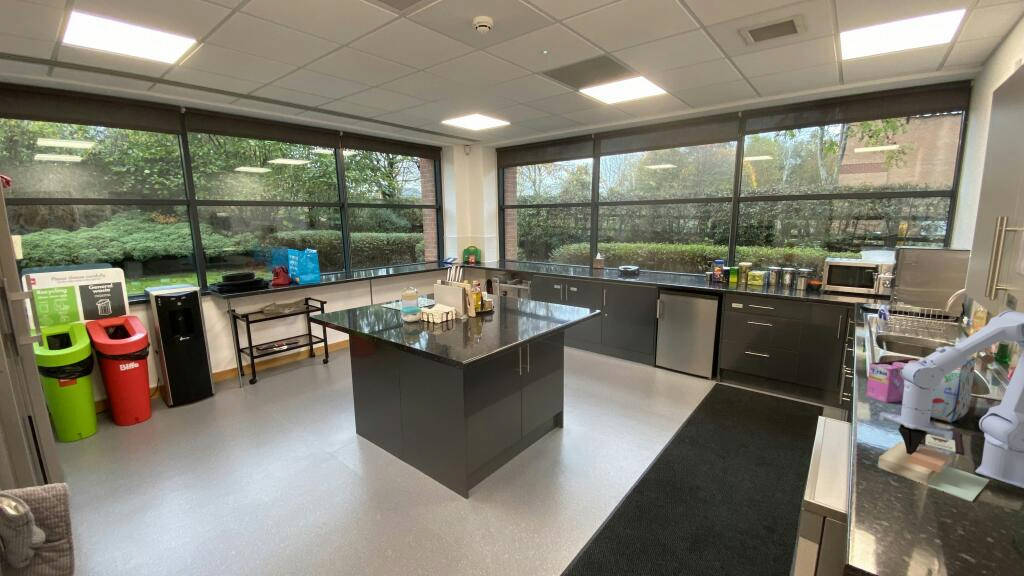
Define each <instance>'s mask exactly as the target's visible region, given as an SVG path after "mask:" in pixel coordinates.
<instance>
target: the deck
mask: <svg viewBox="0 0 1024 576" xmlns="http://www.w3.org/2000/svg"><path fill="white" fill-rule="evenodd" d="M919 448H920V447H919V446H918V448H917V450H918V449H919ZM917 450H916V451H917ZM877 468H879V469H882V470H885V471H887V472H890V473H892V474H896V475H898V476H901V477H903V478H906V479H908V480H911V481H914V482H917V483H919V482H920V483H919V484H922V483H923V484H922V485H925V486H927V484H928V483H929V482H930V481H931V480H932V479H933V478H934V477H935V476H936V475H937V474H938V473H939V472H936V471H933V470H930V469H927V468H924V467H921V466H919V465H916V464H913V463H910V454H907V452H906V446H905V443H904V441H899V442H898V443H897V444H895V445H894V446H892V447H891V448H890V449H888V450H887V451H885V452H884V453H883V454H881V455H880V456H878V462H877Z"/></svg>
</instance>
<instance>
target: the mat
mask: <svg viewBox="0 0 1024 576" xmlns="http://www.w3.org/2000/svg"><path fill="white" fill-rule="evenodd" d="M989 482H990V479H987V478H984V477H982V476H979V475H976V474H973V473H970V472H967V471H965V470H961V469H957V468H955V467H951V466H949V465H948V466H947V467H946V468H945V469H944V470H943V471H942V472H941V473H938V474H937V475H936V476H935V477H934V478H933V479H932V480H931V481H930V482H929V483H928V484H927V485H928V487H930V488H933V489H935V488H936V490H938V491H941V492H943V491H944V493H947V494H949V495H952V496H954V497H957V498H960V499H962V500H965V501H968V502H970V501H971V503H972V502H973V501H974V500H975V499H976V497H977V496H978V495H979V494H980V493H981V492H982V491H983V489H984V488H985V487H986V486H987V485H988V483H989ZM927 485H926V486H927Z"/></svg>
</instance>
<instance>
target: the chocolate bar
mask: <svg viewBox="0 0 1024 576" xmlns="http://www.w3.org/2000/svg"><path fill="white" fill-rule="evenodd" d="M942 428H943V429H946V430H949V431H953V435H952V439H951V440H947V439H944V438H943V437H940V436H937V435H933V434H930V433H928V434H927V435H926V436H925V437H924V439H923V440H922V441H921V443H920V444H919V445H921V444H925V445H928V446H927V447H929V446H931V447H930V448H933V447H935V448H934V449H937V448H938V450H940V451H941V450H942V451H945V452H949V453H953V454H957V455H960V456H961V455H963V448H962V447H963V446H962V439H961V432H960V431H957V430H953V429H948V428H944V427H942ZM925 445H924V446H925Z"/></svg>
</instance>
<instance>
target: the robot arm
mask: <svg viewBox="0 0 1024 576" xmlns="http://www.w3.org/2000/svg"><path fill="white" fill-rule="evenodd" d="M1003 341H1004V342H1016V343H1017V345H1018V346H1019V347H1020V348H1021V349H1022V352H1021V355H1020V357H1019V359H1018V361H1017V364H1016V366H1015V369H1014V371H1013V373H1012V376H1011V378H1010V380H1009V383H1008V386H1007V387H1006V390H1005V392H1004V395H1003V397H1002V399H1001V402H1000V404H999V405H995V406H992V407H989V409H988V411H987V412H986V414H985V415H983V416H982V417H981V418H980V419H979V421H978V426H979V429H980V430H981V431H982V432H983V433H984V434H983V438H984V444H983V451H982V457H981V458H982V459H981V464H979V465H980V466H978V467H977V469H976V470H975V473H976V474H979V475H982V476H985V477H988V478H991V479H994V480H997V481H1000V482H1003V483H1006V484H1009V485H1012V486H1016V487H1018V488H1021V489H1024V312H1021V311H1017V310H1012V309H1011V310H1009V309H1008V310H1005V311H1002V312H1000V313H999V314H998V315H997V316H993V317H991V318H990V320H989V321H988V323H987V324H986V325H984V326H983V327H981V328H980V329H979V330H977V331H976V332H975V333H972V334H971V335H969V336H968V337H966V338H965V339H964V340H962V341H961V342H959V343H958V344H956V345H954V346H949V345H945V346H942V347H941V346H939V347H937V348H936V349H935V351H934V352H932V353H930V354H929V355H927V356H925V357H923V358H922V357H921V358H919V359H918V362H914V363H913V362H911V363H908V364H907V365H905V366H904V368H903V369H902V370H900V374H901V376H902V378H903V379H904V392H903V401H901V402H902V403H901V404H902V405H901V412H900V414H901V415H900V414H898V415H897V414H894V413H889V412H886V411H882V412H879V418H878V419H879V420H880V421H883V422H885V421H886V422H889V423H893V424H896V425H899V427H898V432H899V433H900V434H899V435H900V436H901V438H902V440H903V442H904V443H905V446H906V452H907V454H910V455H912V454H913V453H914V452H915V451H916V450H917V448H918V447H919V445H921V444H920V443H921V441H922V440H923V439H924V437H925V436H926V435H927V434H928V433H930V434H933V435H937V436H940V437H943V438H944V439H947V440H951V439H952V435H953V431H954V430H953V431H949V430H950V429H949V430H946V429H947V428H944V427H940V426H938V425H936V424H933V423H930V421H931V417H930V415H931V406H932V398H933V390H934V387H937V386H938V385H939V384H940V383H941V381H942V378H944V376H945V375H947V374H949V373H950V372H952V371H954V370H956V369H958V368H959V367H961V366H963V365H965V364H966V363H967V357H971V356H972V355H975V354H976V353H979V352H981V351H983V350H985V349H986V348H989V347H992V346H993V345H995V344H997V343H1000V342H1003ZM943 428H944V429H943Z"/></svg>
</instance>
